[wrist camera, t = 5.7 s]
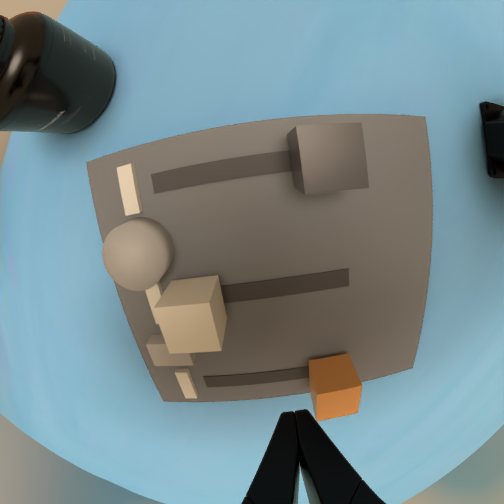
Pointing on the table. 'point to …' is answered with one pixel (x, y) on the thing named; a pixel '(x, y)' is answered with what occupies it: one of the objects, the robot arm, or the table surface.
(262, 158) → the control board
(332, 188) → the dark brown slider
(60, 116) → the supplement bottle
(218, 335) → the ivory slider
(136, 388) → the table surface
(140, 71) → the table surface
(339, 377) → the orange slider
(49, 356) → the table surface
